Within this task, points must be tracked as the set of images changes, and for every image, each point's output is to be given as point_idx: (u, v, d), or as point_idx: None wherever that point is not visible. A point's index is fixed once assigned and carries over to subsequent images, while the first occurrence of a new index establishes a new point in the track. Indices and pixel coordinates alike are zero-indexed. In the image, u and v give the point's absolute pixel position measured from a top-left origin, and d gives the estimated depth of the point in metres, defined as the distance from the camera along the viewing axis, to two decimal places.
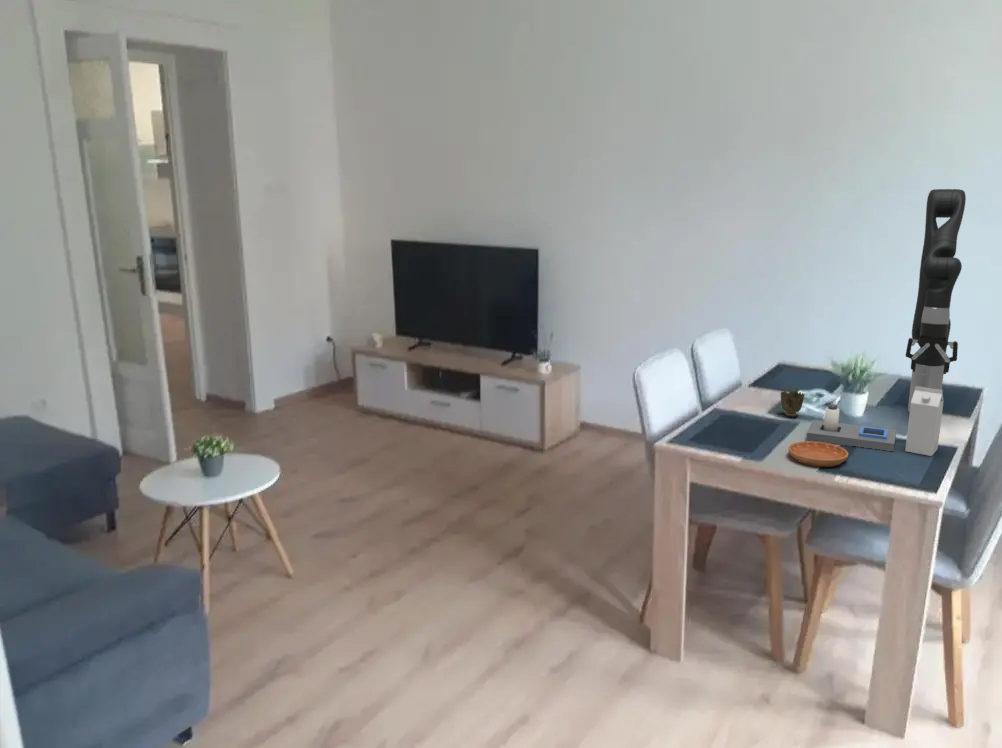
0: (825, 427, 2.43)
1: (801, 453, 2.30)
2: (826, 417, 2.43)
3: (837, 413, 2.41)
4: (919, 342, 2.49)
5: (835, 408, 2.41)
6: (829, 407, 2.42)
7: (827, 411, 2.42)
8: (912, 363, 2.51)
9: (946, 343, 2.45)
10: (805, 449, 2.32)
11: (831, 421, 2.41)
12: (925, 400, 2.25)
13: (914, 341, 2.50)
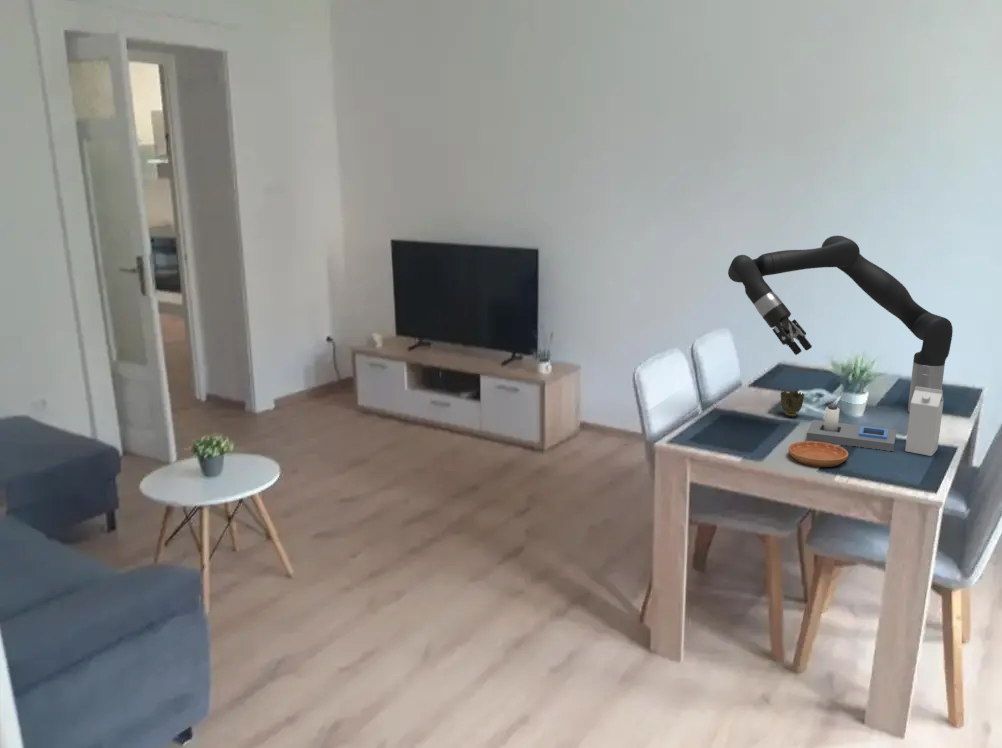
0: (825, 427, 2.43)
1: (801, 453, 2.30)
2: (826, 417, 2.43)
3: (837, 413, 2.41)
4: None
5: (835, 408, 2.41)
6: (829, 407, 2.42)
7: (827, 411, 2.42)
8: None
9: None
10: (805, 449, 2.32)
11: (831, 421, 2.41)
12: (925, 400, 2.25)
13: None
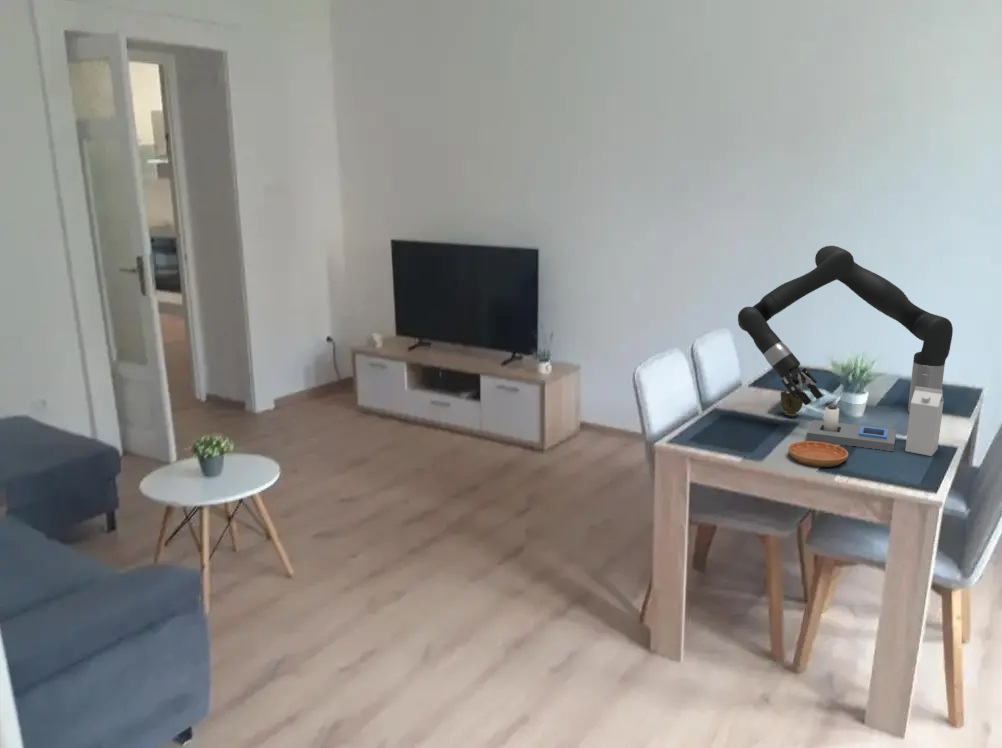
0: (825, 427, 2.43)
1: (801, 453, 2.30)
2: (825, 417, 2.43)
3: (836, 413, 2.41)
4: None
5: (835, 408, 2.41)
6: (829, 407, 2.42)
7: (827, 411, 2.42)
8: None
9: None
10: (805, 449, 2.32)
11: (831, 421, 2.41)
12: (925, 400, 2.25)
13: None
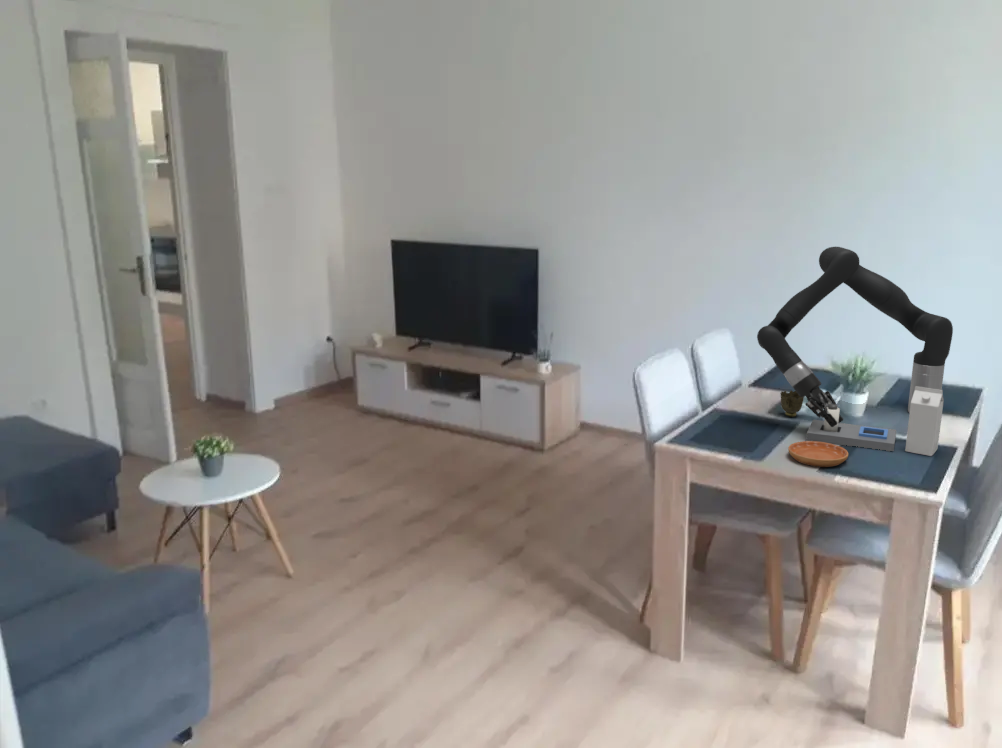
0: (825, 427, 2.43)
1: (801, 452, 2.30)
2: None
3: (837, 413, 2.41)
4: None
5: (835, 408, 2.41)
6: (829, 407, 2.42)
7: None
8: None
9: (808, 400, 2.43)
10: (805, 449, 2.32)
11: None
12: (925, 400, 2.25)
13: None
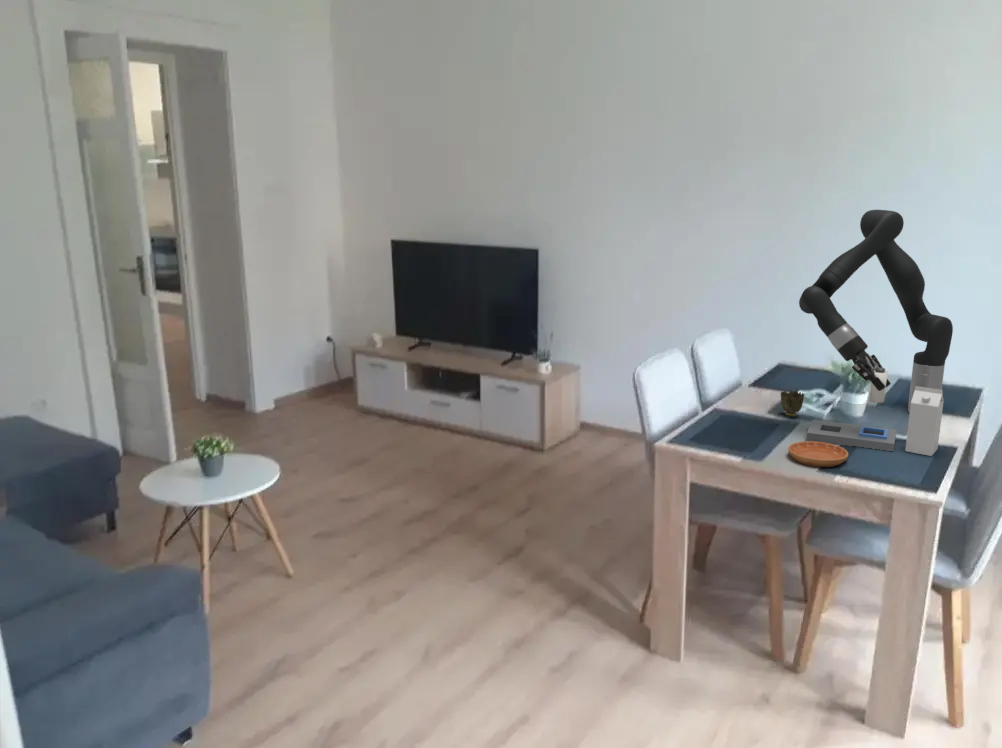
0: (872, 391, 2.35)
1: (801, 453, 2.30)
2: None
3: (885, 376, 2.32)
4: None
5: (883, 371, 2.32)
6: (877, 370, 2.33)
7: None
8: None
9: None
10: (805, 449, 2.32)
11: None
12: (925, 400, 2.25)
13: None
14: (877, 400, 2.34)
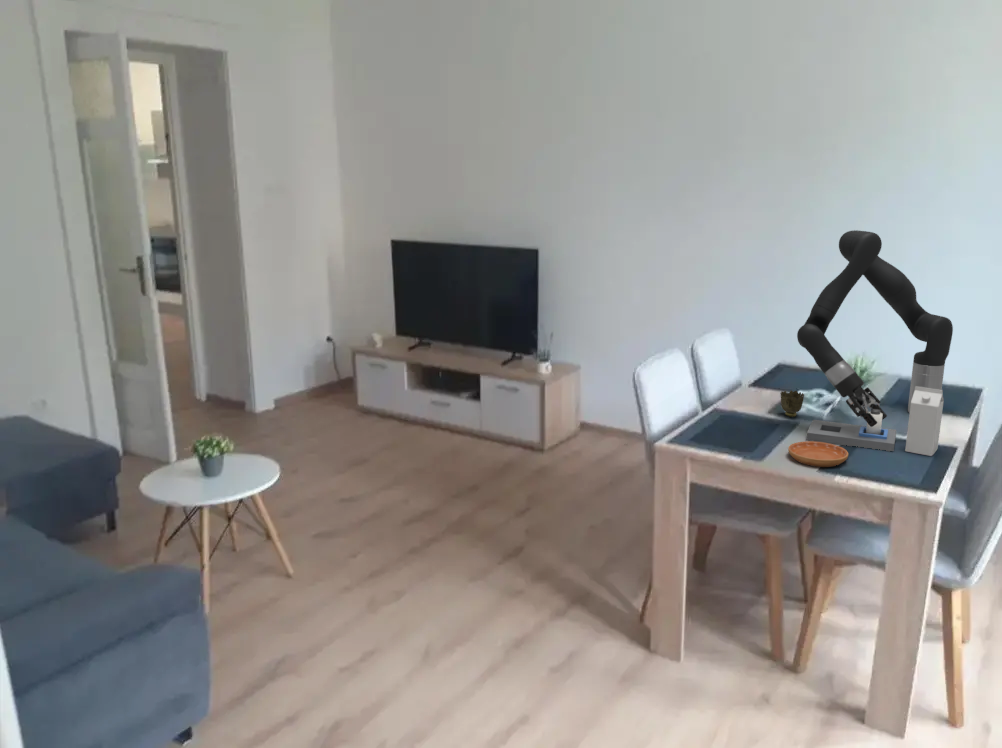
0: (867, 432, 2.38)
1: (801, 453, 2.30)
2: None
3: (880, 418, 2.35)
4: None
5: (878, 413, 2.36)
6: (872, 412, 2.36)
7: None
8: None
9: None
10: (805, 449, 2.32)
11: (874, 426, 2.36)
12: (925, 400, 2.25)
13: None
14: None
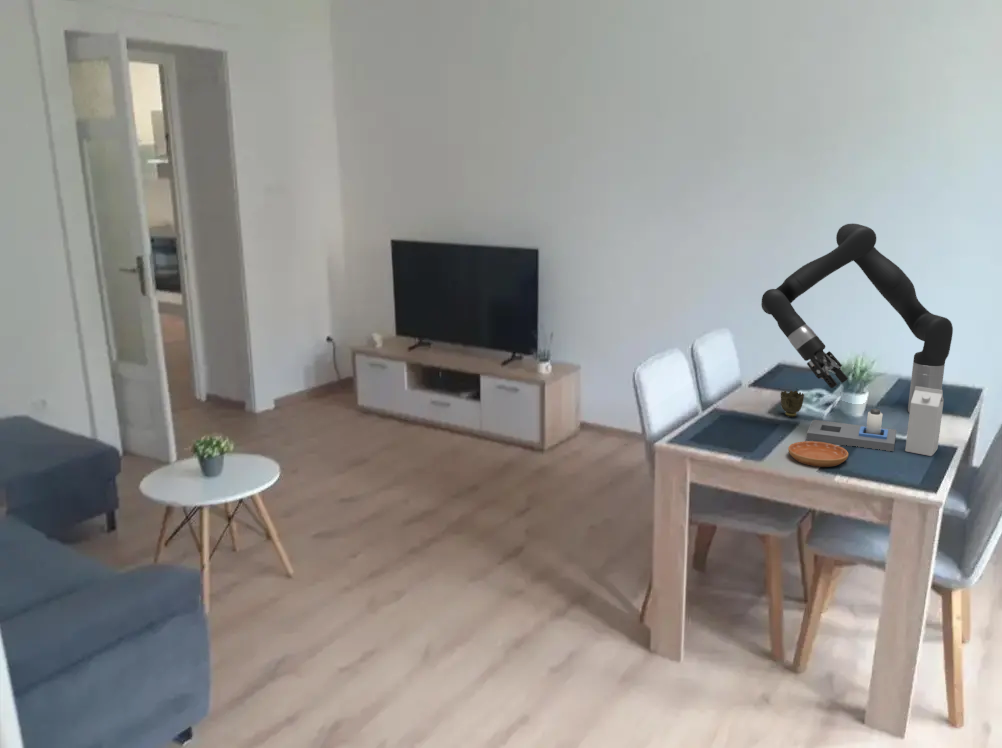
0: (867, 432, 2.38)
1: (801, 453, 2.30)
2: (868, 422, 2.37)
3: (880, 418, 2.35)
4: None
5: (878, 413, 2.36)
6: (872, 412, 2.36)
7: (870, 416, 2.36)
8: None
9: None
10: (805, 449, 2.32)
11: (874, 426, 2.36)
12: (925, 400, 2.25)
13: None
14: None
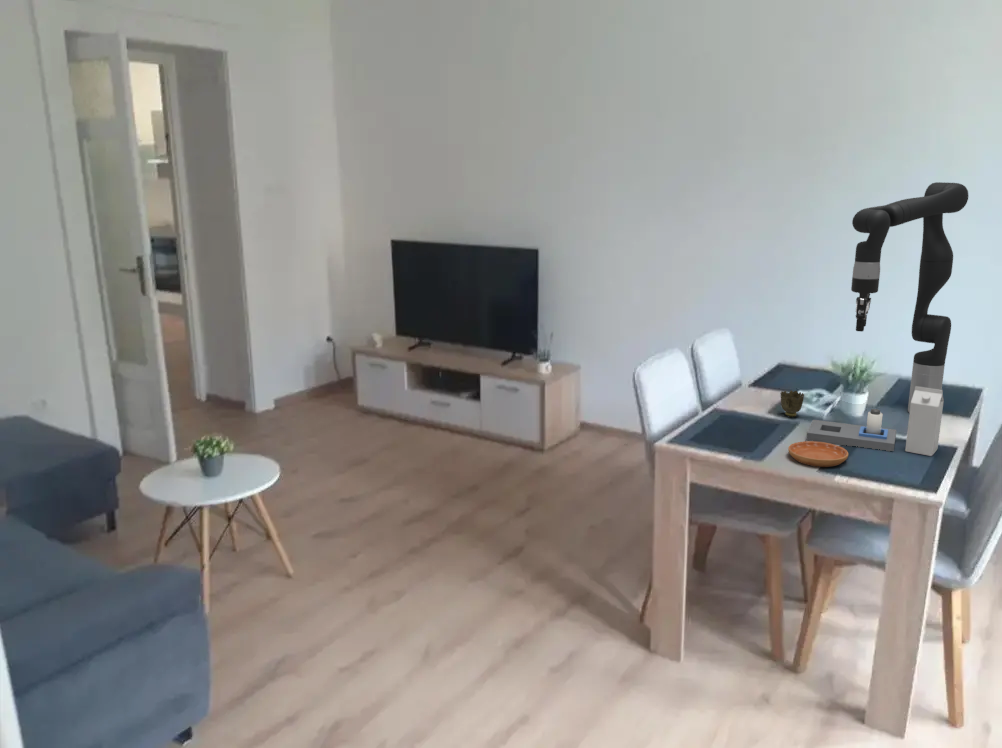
0: (867, 432, 2.38)
1: (801, 453, 2.30)
2: (868, 422, 2.37)
3: (880, 418, 2.35)
4: None
5: (878, 413, 2.36)
6: (872, 412, 2.36)
7: (870, 416, 2.36)
8: None
9: None
10: (805, 449, 2.32)
11: (874, 426, 2.36)
12: (925, 400, 2.25)
13: None
14: None
